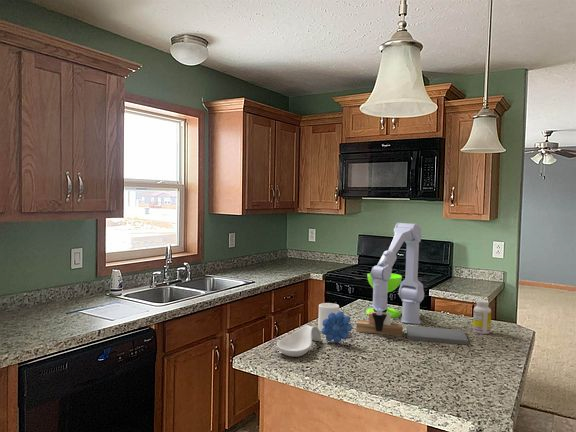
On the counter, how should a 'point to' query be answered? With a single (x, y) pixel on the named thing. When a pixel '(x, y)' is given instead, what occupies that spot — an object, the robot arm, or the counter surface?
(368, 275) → the wineglass
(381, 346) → the counter surface
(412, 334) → the dock
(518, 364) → the counter surface
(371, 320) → the terracotta crate
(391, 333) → the pallet
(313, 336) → the spoon rest
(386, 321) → the block
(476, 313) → the supplement bottle
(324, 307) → the mug
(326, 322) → the blue lobed knob
